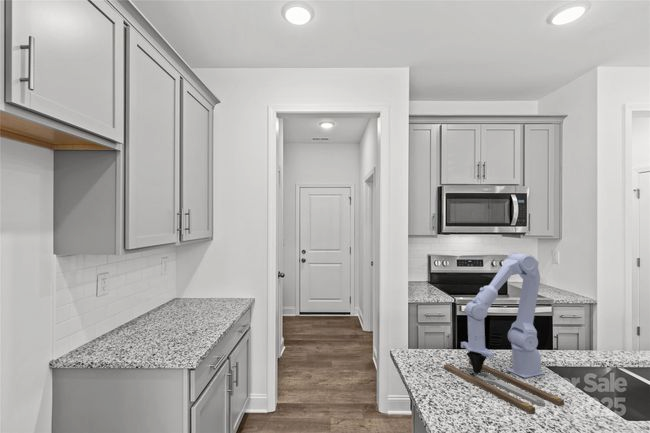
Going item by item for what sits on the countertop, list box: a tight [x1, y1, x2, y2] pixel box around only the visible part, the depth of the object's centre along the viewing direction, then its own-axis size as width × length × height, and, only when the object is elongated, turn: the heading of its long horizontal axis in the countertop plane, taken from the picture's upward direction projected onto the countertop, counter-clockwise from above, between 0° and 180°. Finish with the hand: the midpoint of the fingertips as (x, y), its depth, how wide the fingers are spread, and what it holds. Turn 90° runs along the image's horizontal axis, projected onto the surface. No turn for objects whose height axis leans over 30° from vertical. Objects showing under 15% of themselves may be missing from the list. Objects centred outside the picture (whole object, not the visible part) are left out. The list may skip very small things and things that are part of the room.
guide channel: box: [443, 359, 565, 415], centre depth 128 cm, size 14×38×2 cm, turn 21°
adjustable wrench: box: [476, 371, 546, 407], centre depth 123 cm, size 25×6×2 cm, turn 19°
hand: (477, 372), depth 136 cm, fingers closed
